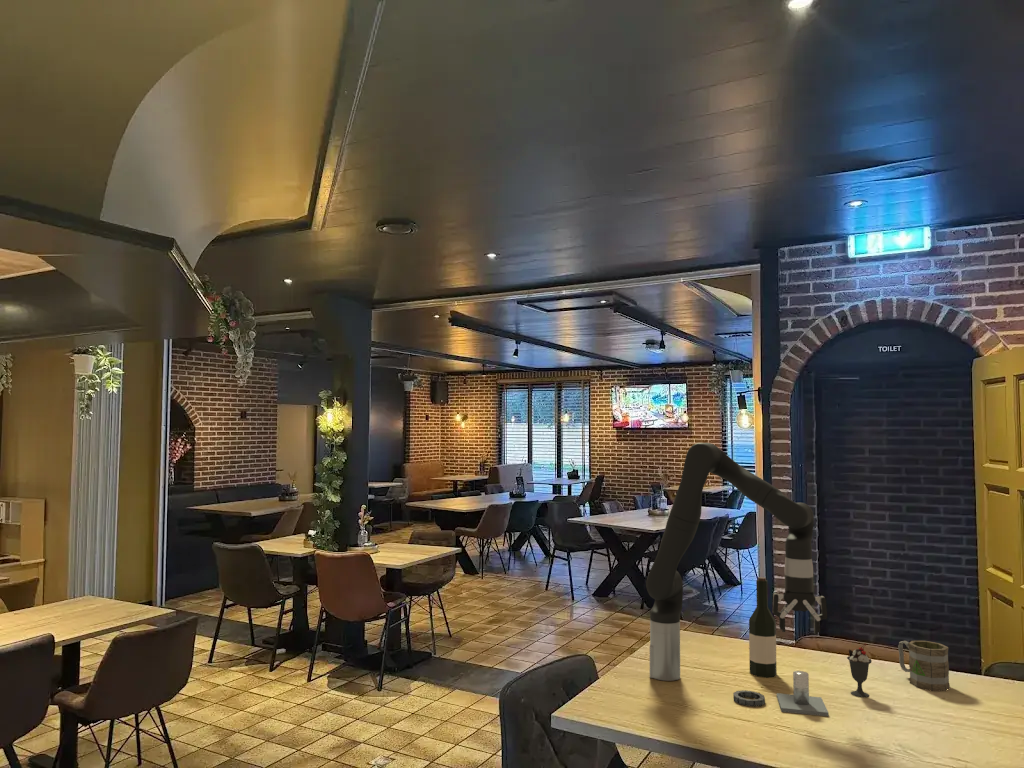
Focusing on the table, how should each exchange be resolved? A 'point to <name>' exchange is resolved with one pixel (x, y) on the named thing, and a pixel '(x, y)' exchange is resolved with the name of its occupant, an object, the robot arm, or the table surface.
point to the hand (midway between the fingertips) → (799, 632)
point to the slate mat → (813, 708)
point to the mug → (926, 664)
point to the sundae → (859, 669)
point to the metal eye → (757, 700)
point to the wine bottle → (762, 635)
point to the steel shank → (801, 687)
